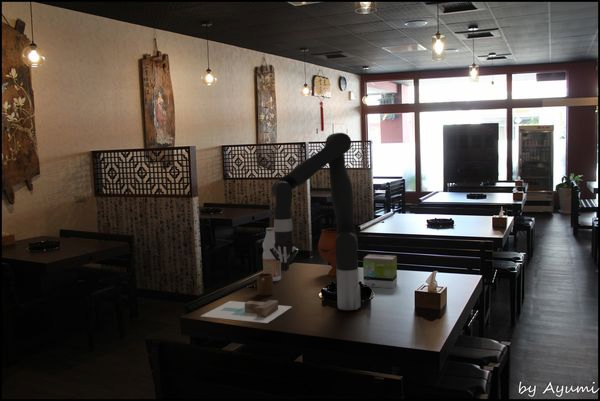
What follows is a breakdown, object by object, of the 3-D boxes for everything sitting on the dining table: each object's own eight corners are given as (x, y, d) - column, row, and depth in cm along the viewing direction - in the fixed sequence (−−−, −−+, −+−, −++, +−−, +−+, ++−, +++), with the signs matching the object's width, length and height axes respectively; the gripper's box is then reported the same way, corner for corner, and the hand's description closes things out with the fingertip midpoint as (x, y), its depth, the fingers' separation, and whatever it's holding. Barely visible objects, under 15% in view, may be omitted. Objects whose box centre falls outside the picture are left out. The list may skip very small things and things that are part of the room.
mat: (292, 306, 238) (292, 306, 238) (267, 323, 216) (267, 322, 216) (229, 301, 251) (229, 300, 251) (200, 316, 229) (200, 316, 229)
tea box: (363, 287, 268) (362, 257, 266) (368, 282, 277) (367, 253, 276) (393, 288, 262) (392, 258, 261) (397, 283, 271) (396, 254, 270)
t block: (278, 309, 234) (277, 300, 233) (265, 317, 223) (265, 308, 223) (253, 307, 239) (253, 298, 238) (240, 315, 228) (239, 305, 227)
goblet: (360, 272, 299) (359, 228, 297) (339, 279, 285) (338, 233, 282) (333, 268, 312) (331, 226, 309) (312, 275, 297) (310, 230, 295)
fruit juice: (265, 282, 285) (262, 230, 283) (262, 278, 294) (260, 227, 292) (282, 280, 287) (280, 228, 285) (279, 277, 296) (277, 226, 294)
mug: (270, 298, 253) (270, 279, 252) (254, 299, 253) (253, 279, 252) (274, 292, 265) (273, 273, 264) (259, 292, 265) (258, 273, 264)
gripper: (301, 228, 223) (303, 269, 225) (273, 227, 228) (274, 268, 230) (294, 231, 216) (295, 273, 218) (264, 230, 222) (266, 272, 223)
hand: (285, 270), depth 224 cm, fingers closed
